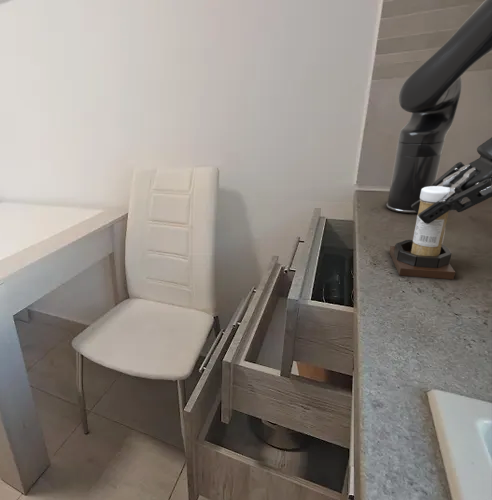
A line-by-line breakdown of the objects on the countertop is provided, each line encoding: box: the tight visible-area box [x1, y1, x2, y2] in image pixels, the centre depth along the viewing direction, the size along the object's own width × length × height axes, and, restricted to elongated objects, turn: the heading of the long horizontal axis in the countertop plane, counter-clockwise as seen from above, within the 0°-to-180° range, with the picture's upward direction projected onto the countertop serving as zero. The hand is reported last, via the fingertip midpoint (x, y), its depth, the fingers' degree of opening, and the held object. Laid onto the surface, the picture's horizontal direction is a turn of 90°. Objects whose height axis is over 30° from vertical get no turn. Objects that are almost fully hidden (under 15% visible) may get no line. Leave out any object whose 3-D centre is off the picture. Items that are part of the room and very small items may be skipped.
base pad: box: [389, 239, 456, 280], centre depth 69 cm, size 10×8×4 cm
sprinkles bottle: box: [411, 186, 450, 256], centre depth 66 cm, size 5×5×14 cm
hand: (418, 214), depth 66 cm, fingers closed on sprinkles bottle, 4 cm apart
